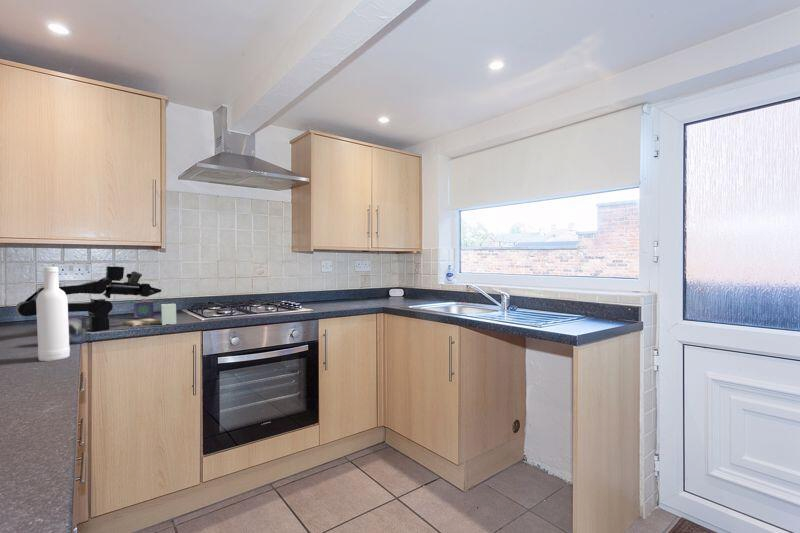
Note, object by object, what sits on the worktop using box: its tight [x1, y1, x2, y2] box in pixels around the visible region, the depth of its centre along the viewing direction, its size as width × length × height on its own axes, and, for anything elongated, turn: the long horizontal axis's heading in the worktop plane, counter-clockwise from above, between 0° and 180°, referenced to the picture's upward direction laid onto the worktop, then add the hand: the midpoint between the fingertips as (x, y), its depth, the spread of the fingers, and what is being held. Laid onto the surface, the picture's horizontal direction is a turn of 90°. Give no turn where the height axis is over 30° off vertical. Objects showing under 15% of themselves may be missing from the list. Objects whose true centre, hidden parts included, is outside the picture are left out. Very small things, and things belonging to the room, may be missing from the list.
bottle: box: [36, 266, 71, 362], centre depth 133 cm, size 8×8×30 cm
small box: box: [68, 314, 88, 346], centre depth 156 cm, size 11×6×10 cm, turn 114°
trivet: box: [122, 318, 161, 327], centre depth 202 cm, size 12×12×1 cm
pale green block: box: [160, 302, 177, 326], centre depth 200 cm, size 6×6×10 cm
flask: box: [133, 297, 155, 319], centre depth 221 cm, size 9×3×11 cm, turn 109°
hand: (157, 290), depth 204 cm, fingers open, 9 cm apart
